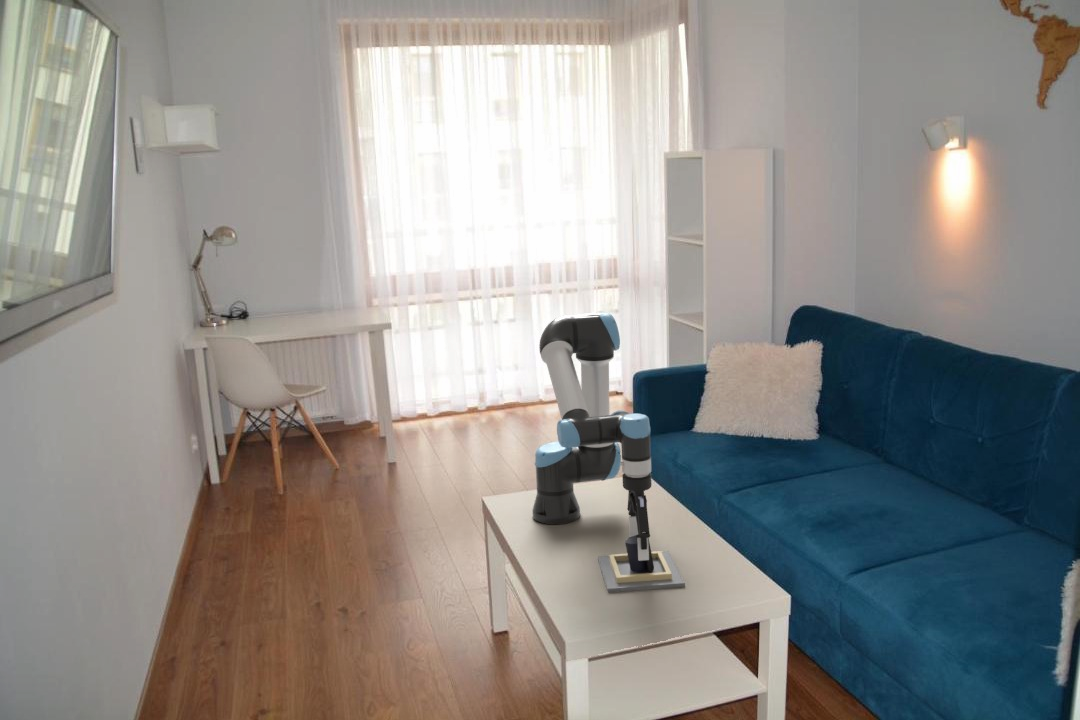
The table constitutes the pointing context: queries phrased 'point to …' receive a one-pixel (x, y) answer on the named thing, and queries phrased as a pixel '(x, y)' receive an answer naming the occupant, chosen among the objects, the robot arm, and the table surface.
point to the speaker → (633, 556)
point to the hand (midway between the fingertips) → (639, 549)
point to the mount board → (640, 573)
